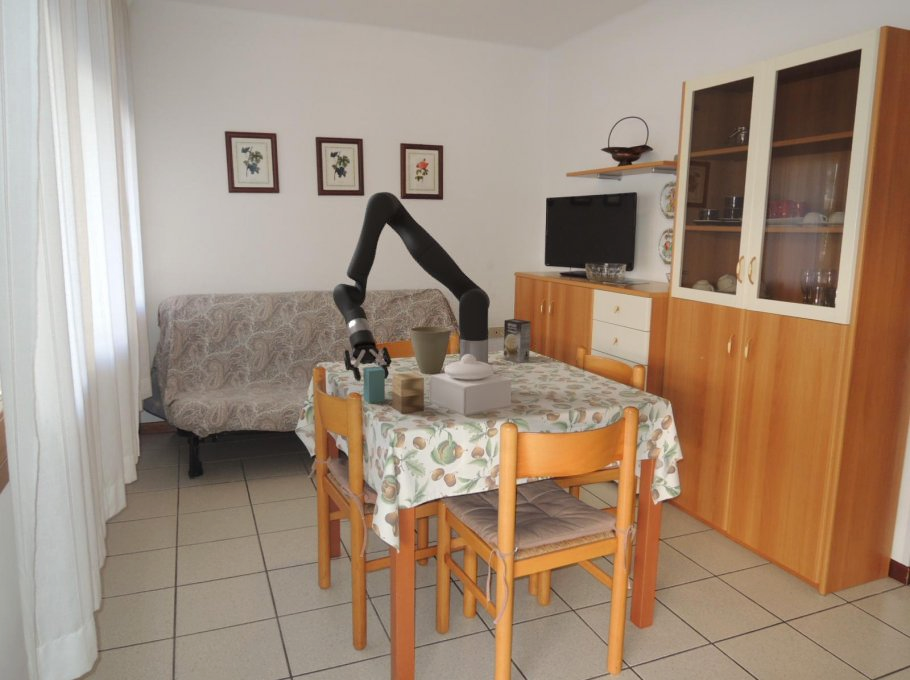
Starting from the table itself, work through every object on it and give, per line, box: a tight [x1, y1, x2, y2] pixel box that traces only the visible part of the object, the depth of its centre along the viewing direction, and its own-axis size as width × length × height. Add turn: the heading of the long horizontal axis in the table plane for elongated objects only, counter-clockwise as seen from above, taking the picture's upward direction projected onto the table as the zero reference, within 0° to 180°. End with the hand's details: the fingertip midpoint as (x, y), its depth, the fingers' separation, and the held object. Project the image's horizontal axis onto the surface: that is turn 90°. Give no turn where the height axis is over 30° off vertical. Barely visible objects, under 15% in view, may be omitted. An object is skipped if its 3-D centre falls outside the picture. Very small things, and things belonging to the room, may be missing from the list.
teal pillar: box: [362, 366, 386, 404], centre depth 205 cm, size 5×5×10 cm
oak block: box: [391, 372, 425, 397], centre depth 195 cm, size 7×7×5 cm
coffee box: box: [502, 318, 532, 364], centre depth 267 cm, size 9×6×16 cm
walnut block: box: [391, 390, 425, 415], centre depth 196 cm, size 7×7×5 cm
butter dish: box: [428, 354, 513, 417], centre depth 201 cm, size 18×18×16 cm
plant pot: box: [409, 325, 452, 375], centre depth 245 cm, size 15×15×16 cm
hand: (372, 378), depth 205 cm, fingers open, 8 cm apart
